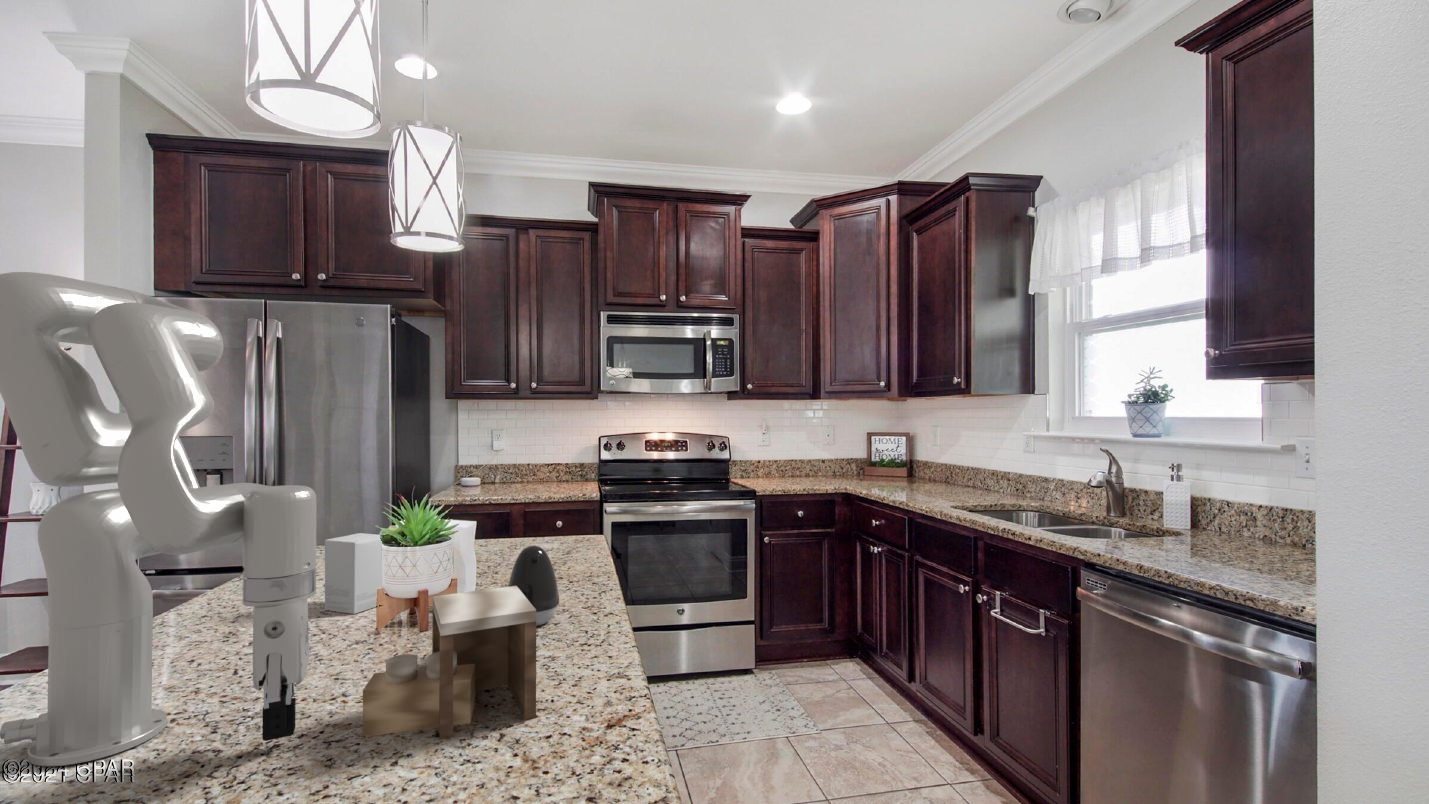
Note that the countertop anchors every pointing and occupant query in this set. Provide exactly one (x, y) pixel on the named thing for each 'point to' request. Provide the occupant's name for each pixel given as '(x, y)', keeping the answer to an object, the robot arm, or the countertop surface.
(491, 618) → the wooden mini stool
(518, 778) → the countertop surface
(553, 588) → the dark grey egg dome
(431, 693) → the tan toy brick
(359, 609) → the supplement box
